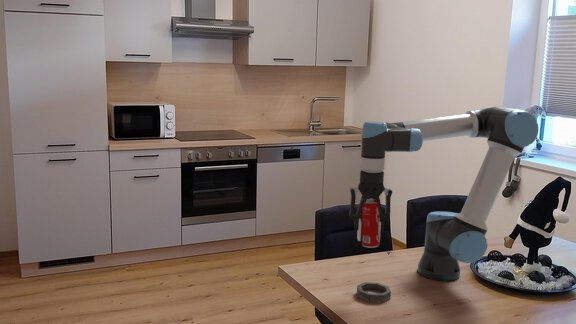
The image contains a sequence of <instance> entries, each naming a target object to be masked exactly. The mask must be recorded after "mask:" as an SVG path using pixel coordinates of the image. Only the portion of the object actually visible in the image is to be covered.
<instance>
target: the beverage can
mask: <svg viewBox="0 0 576 324" xmlns="http://www.w3.org/2000/svg"><path fill="white" fill-rule="evenodd" d="M360 219H361V245H362V247H364V248H370V249H372V248H373V249H374V248H377V247H378V248H379V246H380V244H381V243H380V241H381V240H380V241H379V220H380V217H379V205H378V202H376V201H375V199H367V200H366V202H364V204H363V210H362V213H361V216H360Z"/></svg>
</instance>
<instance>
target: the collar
mask: <svg viewBox="0 0 576 324" xmlns="http://www.w3.org/2000/svg"><path fill="white" fill-rule="evenodd" d="M391 293H392V292H391V289H390V287H389V286H388V285H385V284H383V283H379V282H367V281H366V282H361V283H360V284H357V285H356V296H357V297H358V299H359V300H362V301H365V302H367V303H374V304H375V303H379V304H381V303H385V302H387V301H389V300H391V295H392V294H391Z"/></svg>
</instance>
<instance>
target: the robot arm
mask: <svg viewBox="0 0 576 324" xmlns="http://www.w3.org/2000/svg"><path fill="white" fill-rule="evenodd" d="M361 130H362V131H361V149H360V151H361V152H360V171H359V183H358V184H357V185H358V186H356V187H349V192H350V205H349V213H348V214H349V218H350V219H351V220H353V221H354V227H353V228H354V230H355V231H356V234H357V236H356V238H357V239H356V240H357V241H358V242H361V239H362V219H361V213H362V210H363V204H364V202H366V200H375V201H376V202H378V205H379V241H381V232H384V229H385V221H389V220H390V219H391V198H392V195H393V190H392V189H391V188H386V187H385V186H384V181H385V179H384V178H385V172H384V170H385V162H386V161H385V158H386V153H391V152H392V153H393V152H397V153H399V152H401V153H402V152H403V153H404V152H406V153H408V152H409V153H411V152H418V151H420V150H421V148H422V147H423V142H424V141H425V142H427V141H435V140H442V139H443V140H444V139H448V138H449V139H450V138H451V139H452V138H458V137H465V136H466V137H468V138H470V139H472V138H485V139H487V140H486V143H487V146H488V150H487V151H486V154H485V157H484V159H483V161H482V163H481V166H480V168H479V169H478V173H477V175H476V177H475V179H474V181H473V184H472V186H471V188H470V191H469V193H468V195H467V198H466V200H465V202H464V205H463V207H462V209H461V211H460V212H459V213H457V212H451V211H431V212H429V213H428V214H427V217H426V221H425V223H426V225H425V235H424V236H425V237H424V250H423V253H422V254H421V255H422V256H421V258H420V259H419V261H418V263H417V273H418V274H419V275H421V276H422V277H425V278H427V279H430V280H435V281H445V282H446V281H450V282H451V281H455V280H458V279H459V278H460V277H461V267H460V263H459V262H461V263H464V264H472V263H474V262H477V261H478V260H481V258H482V257H484V255H485V254H486V252H487V250H488V241H487V240H488V239H487V237H486V234H487V232H488V230H489V228H488V226H487V221H488V219H489V216H490V214H491V212H492V209H493V207H494V205H495V202H496V200H497V198H498V195H499V194H500V190H501V188H502V187H503V184H504V182H505V180H506V177H507V175H508V173H509V170H510V168H511V167H512V166H511V165H513V164H512V163H513V161H514V159H515V157H518V156H520V155H521V154H522V153H523V151H524V149H525V148H527V147H528V146H530V145H532V144H534V143H535V141H536V139H537V138H538V135H539V124H538V122H537V118H536V117H535V116H534V114H532V113H531V112H529V111H527V110H523V109H520V108H512V107H504V106H492V107H486V108H484V107H483V108H480V109H474V110H468V111H466V112H465V114H457V115H449V116H441V117H439V116H438V117H431V118H424V119H415V120H406V121H405V120H404V121H400V122H399V121H398V122H391V123H390V122H386V121H385V122H384V121H375V120H374V121H373V120H371V121H369V120H368V121H365V122H364V123H363V125H362V129H361ZM358 192H359V193H360V194H361V198H360V201H359V203H358V207H357V210H355V209H356V208H355V207H356V200H357V199H356V198H357V197H356V195H358ZM383 192H384V195H385V208H384V209H385V211H384V212H383V207H382V204H381V199H380V196H381V195H382V194H383ZM355 211H356V213H355ZM384 213H385V214H384Z"/></svg>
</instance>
